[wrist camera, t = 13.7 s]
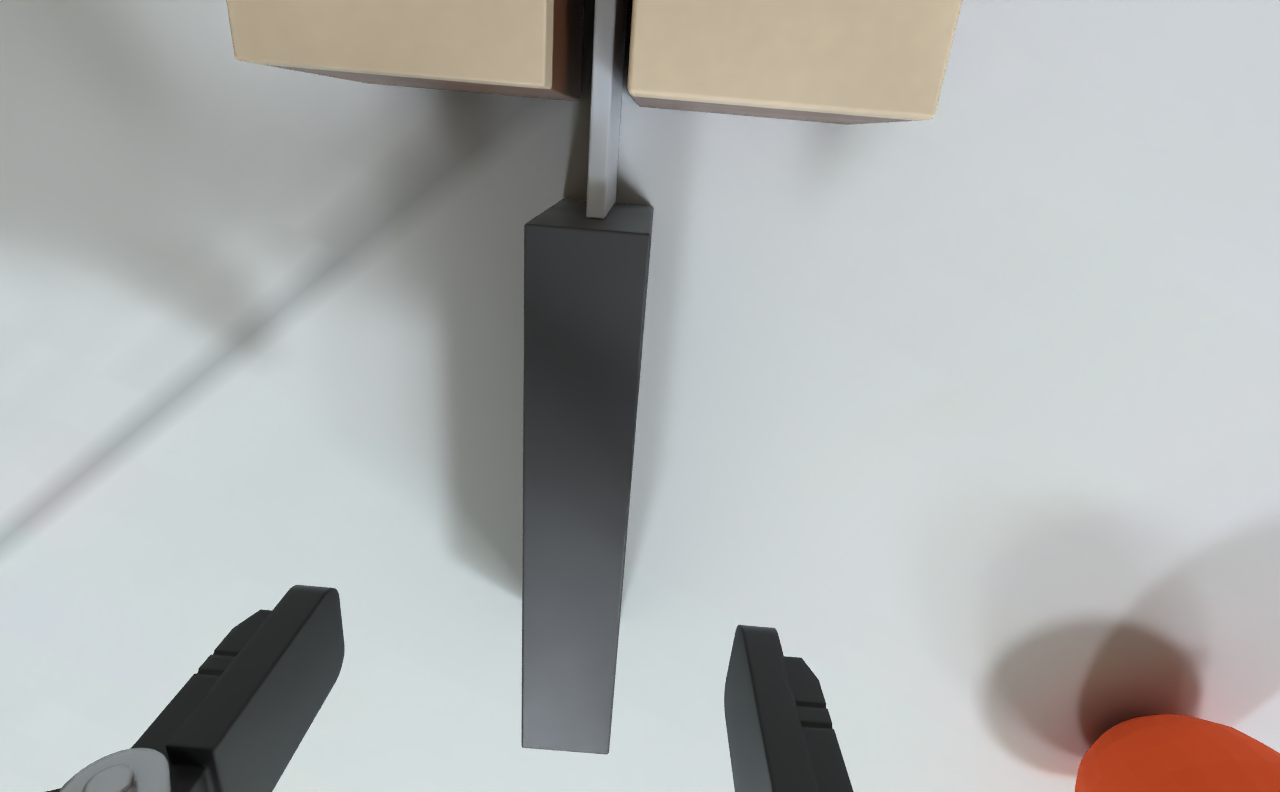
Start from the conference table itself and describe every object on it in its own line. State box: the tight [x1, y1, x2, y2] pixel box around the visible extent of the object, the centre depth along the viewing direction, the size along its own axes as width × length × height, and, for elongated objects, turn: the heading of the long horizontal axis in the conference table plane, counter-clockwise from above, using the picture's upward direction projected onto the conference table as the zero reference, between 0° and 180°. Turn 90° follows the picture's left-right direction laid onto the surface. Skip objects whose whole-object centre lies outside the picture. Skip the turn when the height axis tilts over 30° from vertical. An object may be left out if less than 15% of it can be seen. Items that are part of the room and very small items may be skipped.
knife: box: [522, 0, 654, 754], centre depth 15 cm, size 23×2×5 cm, turn 176°
